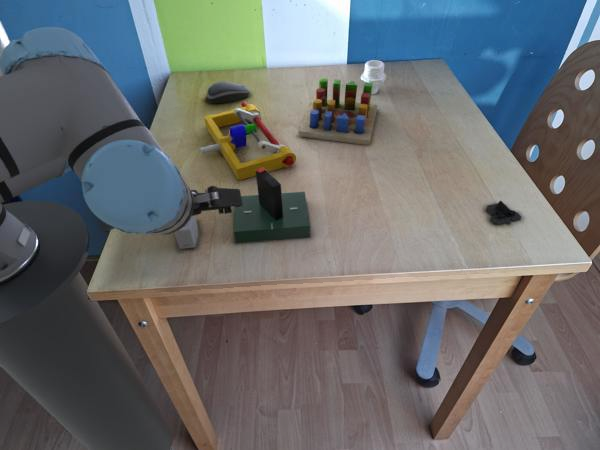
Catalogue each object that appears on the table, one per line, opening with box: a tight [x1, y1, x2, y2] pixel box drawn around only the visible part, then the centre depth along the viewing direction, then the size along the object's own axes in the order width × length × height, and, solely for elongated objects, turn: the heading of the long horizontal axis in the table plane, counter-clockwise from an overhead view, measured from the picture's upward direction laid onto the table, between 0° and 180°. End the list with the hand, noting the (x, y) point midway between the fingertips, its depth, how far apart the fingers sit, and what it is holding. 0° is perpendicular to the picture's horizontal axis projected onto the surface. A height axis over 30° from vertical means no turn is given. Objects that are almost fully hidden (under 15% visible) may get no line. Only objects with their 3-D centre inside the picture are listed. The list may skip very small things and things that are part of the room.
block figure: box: [485, 200, 522, 226], centre depth 82 cm, size 6×2×6 cm
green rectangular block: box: [233, 191, 311, 244], centre depth 82 cm, size 14×10×3 cm
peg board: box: [298, 77, 378, 146], centre depth 106 cm, size 18×17×9 cm
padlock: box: [174, 215, 200, 250], centre depth 77 cm, size 7×4×10 cm, turn 8°
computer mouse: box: [205, 80, 250, 104], centre depth 119 cm, size 7×12×4 cm, turn 112°
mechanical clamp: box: [200, 101, 297, 181], centre depth 100 cm, size 18×6×30 cm
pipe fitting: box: [360, 59, 387, 95], centre depth 118 cm, size 6×7×8 cm
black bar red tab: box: [255, 167, 283, 220], centre depth 78 cm, size 6×2×8 cm, turn 35°
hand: (178, 213), depth 70 cm, fingers open, 13 cm apart
